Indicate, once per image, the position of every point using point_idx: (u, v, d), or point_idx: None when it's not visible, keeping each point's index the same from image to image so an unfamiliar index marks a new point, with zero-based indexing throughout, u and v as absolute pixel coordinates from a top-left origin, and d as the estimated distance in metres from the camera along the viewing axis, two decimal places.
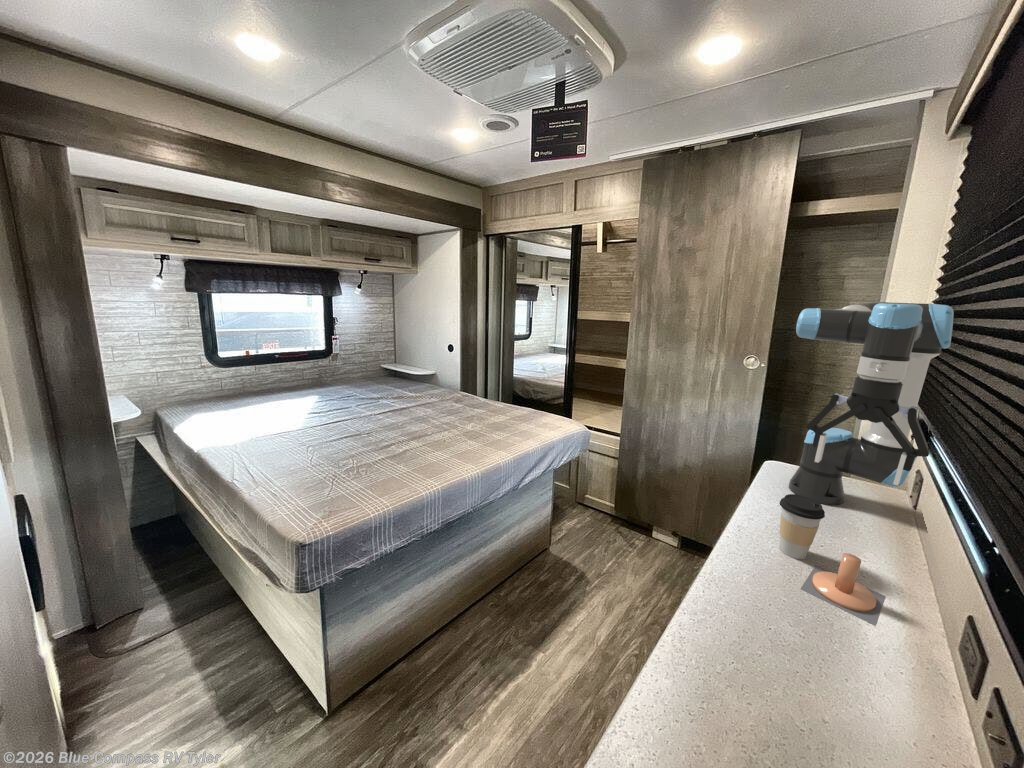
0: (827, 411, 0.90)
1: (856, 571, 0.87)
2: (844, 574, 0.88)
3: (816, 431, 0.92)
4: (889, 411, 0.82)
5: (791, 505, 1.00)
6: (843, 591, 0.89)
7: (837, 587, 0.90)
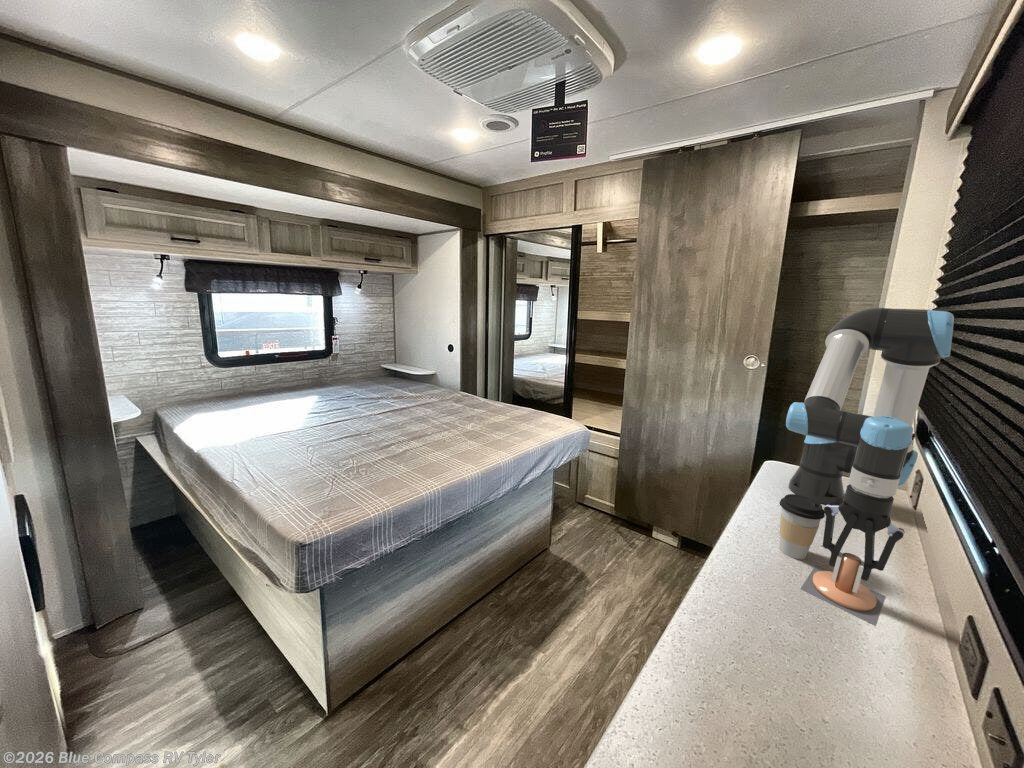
0: (830, 525, 0.89)
1: (856, 570, 0.87)
2: (844, 573, 0.88)
3: (833, 552, 0.90)
4: (879, 523, 0.83)
5: (791, 505, 1.00)
6: (843, 590, 0.89)
7: (837, 586, 0.90)
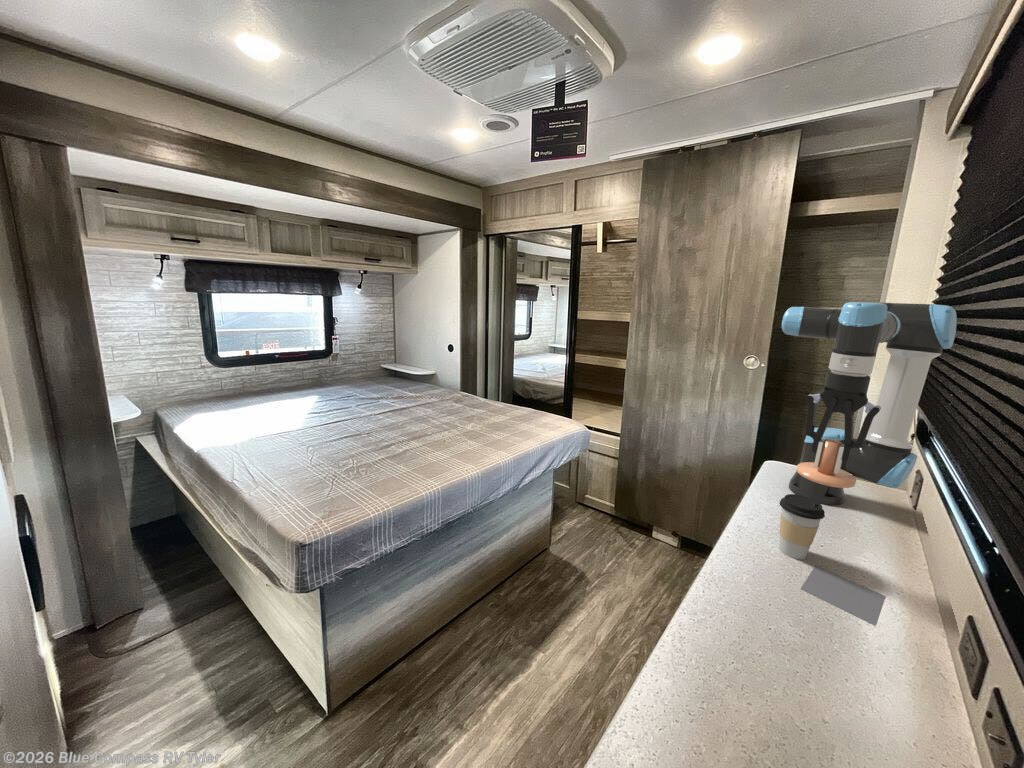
0: (812, 413, 0.94)
1: (837, 452, 0.92)
2: (826, 456, 0.93)
3: (815, 438, 0.95)
4: (857, 402, 0.88)
5: (791, 505, 1.00)
6: (825, 473, 0.94)
7: (820, 471, 0.95)
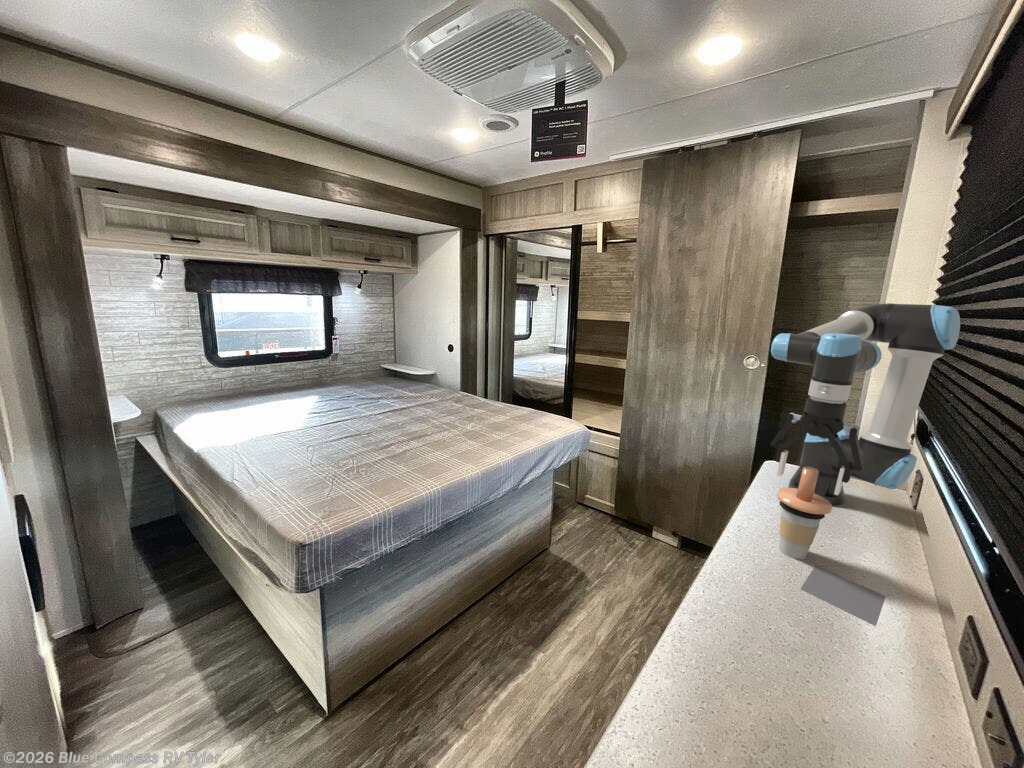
0: (785, 429, 1.01)
1: (814, 480, 0.97)
2: (804, 484, 0.99)
3: (778, 448, 1.02)
4: (835, 428, 0.93)
5: None
6: (803, 499, 0.99)
7: (798, 497, 1.00)
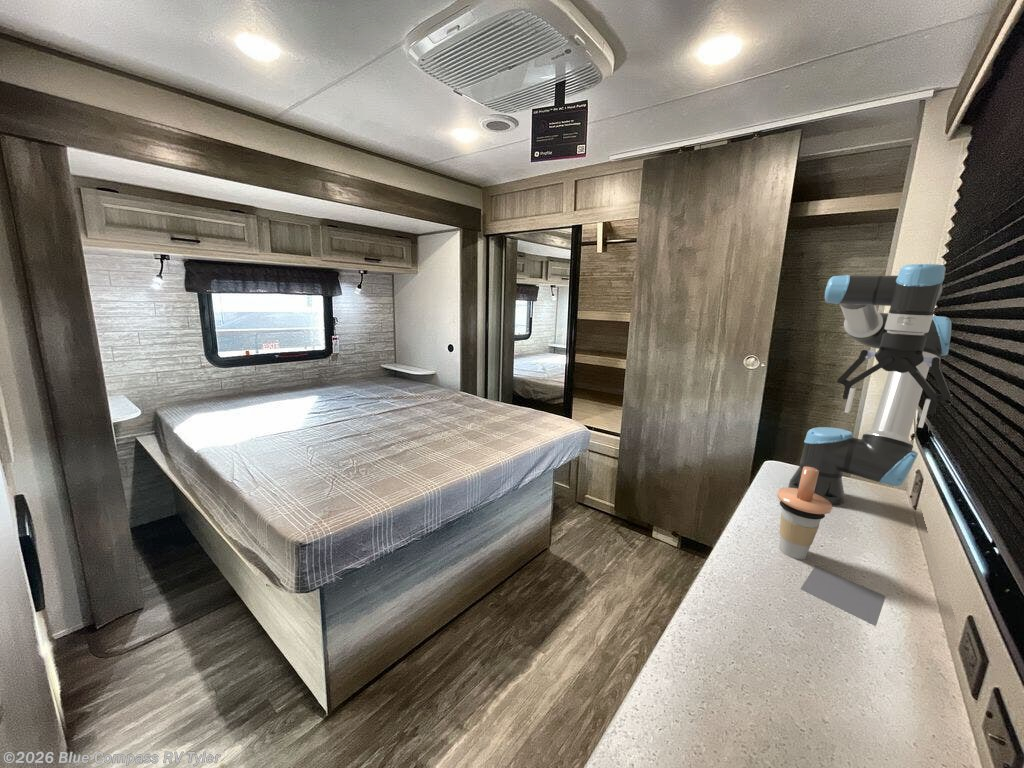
0: (857, 365, 1.00)
1: (814, 480, 0.98)
2: (804, 483, 0.99)
3: (846, 384, 1.02)
4: (914, 361, 0.92)
5: None
6: (803, 499, 0.99)
7: (798, 497, 1.00)
